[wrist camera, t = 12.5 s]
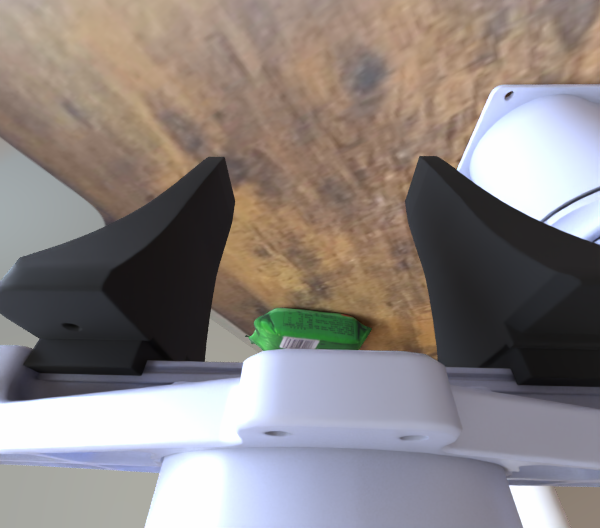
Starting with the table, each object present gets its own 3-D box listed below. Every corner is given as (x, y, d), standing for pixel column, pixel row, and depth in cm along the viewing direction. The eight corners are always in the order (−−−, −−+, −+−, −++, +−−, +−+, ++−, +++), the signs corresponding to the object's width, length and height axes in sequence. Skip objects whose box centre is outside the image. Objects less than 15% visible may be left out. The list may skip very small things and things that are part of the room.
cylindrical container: (506, 361, 48) (599, 583, 32) (505, 375, 53) (585, 575, 37) (458, 366, 51) (522, 574, 35) (462, 380, 56) (519, 568, 39)
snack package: (253, 296, 37) (246, 334, 33) (372, 312, 38) (377, 351, 35) (251, 322, 42) (244, 357, 39) (355, 336, 44) (357, 370, 40)
